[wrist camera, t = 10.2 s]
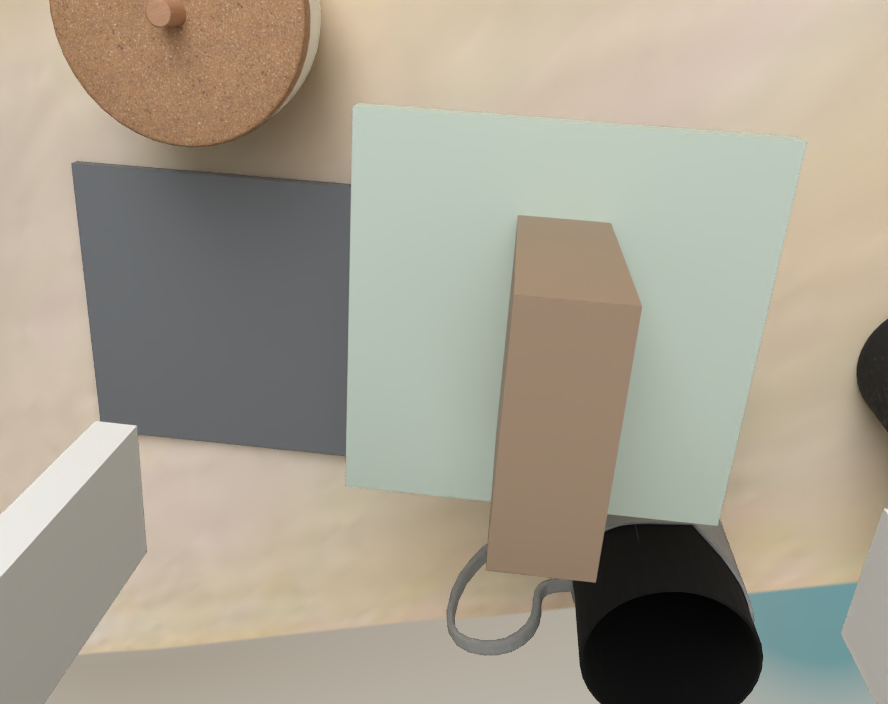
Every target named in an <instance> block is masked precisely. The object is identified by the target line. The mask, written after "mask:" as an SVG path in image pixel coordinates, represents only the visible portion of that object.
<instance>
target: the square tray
mask: <svg viewBox="0 0 888 704" xmlns="http://www.w3.org/2000/svg"><path fill="white" fill-rule="evenodd" d="M71 164H72V173H73V182H74V191H75V200H76V209H77V218H78V226H79V235H80V244H81V253H82V262H83V271H84V280H85V289H86V297H87V306H88V315H89V324H90V333H91V342H92V351H93V359H94V368H95V377H96V386H97V395H98V404H99V413H100V421H101V422H109V423H118V424H127V425H136V426H137V432H138V434H140V435H150V436H159V437H169V438H179V439H188V440H198V441H207V442H217V443H226V444H236V445H245V446H255V447H264V448H274V449H283V450H293V451H303V452H312V453H322V454H331V455H341V456H346V427H347V375H348V323H349V271H350V219H351V184H341V183H329V182H317V181H305V180H293V179H281V178H269V177H258V176H246V175H234V174H222V173H210V172H198V171H186V170H174V169H162V168H151V167H139V166H127V165H115V164H103V163H91V162H79V161H77V162H74V163H71Z"/></svg>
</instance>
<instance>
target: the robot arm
mask: <svg viewBox="0 0 888 704" xmlns="http://www.w3.org/2000/svg"><path fill="white" fill-rule="evenodd" d="M146 552H147V545H146V533H145V520H144V508H143V495H142V483H141V470H140V458H139V445H138V432H137V426H136V425H127V424H118V423H109V422H100V421H95V422H94V423H93V424H92V425H91V426H90V427H89V428H88V429H87V430H86V431H85V432H84V433H83V434H82V435H81V436H80V437H79V438H78V439H77V440H76V441H75V442H74V443H73V444H72V445H71V446H70V447H68V448H67V449H66V450H65V451H64V452H63V453H62V454H61V455H60V456H59V457H58V458H57V459H56V460H55V461H54V462H53V463H52V464H51V465H50V466H49V467H48V468H47V469H46V470H45V471H44V472H43V473H42V474H41V475H40V476H39V477H38V478H37V479H36V480H35V481H34V482H33V483H32V484H31V485H30V486H29V487H28V488H27V489H26V490H25V491H24V492H23V493H22V494H21V495H20V496H19V497H18V498H17V499H16V500H15V501H14V502H13V503H12V504H11V505H10V506H9V507H8V508H7V509H6V510H5V511H4V512H3V513H2V514H1V515H0V704H44V703H45V702H46V700H47V699H48V697H49V696H50V694H51V693H52V691H53V690H54V689H55V687H56V686H57V684H58V683H59V681H60V680H61V678H62V677H63V675H64V674H65V672H66V671H67V669H68V668H69V666H70V665H71V663H72V662H73V660H74V659H75V657H76V656H77V655H78V653H79V652H80V650H81V649H82V647H83V646H84V644H85V643H86V641H87V640H88V638H89V637H90V635H91V634H92V632H93V631H94V629H95V628H96V626H97V625H98V623H99V622H100V621H101V619H102V618H103V616H104V615H105V613H106V612H107V610H108V609H109V607H110V606H111V604H112V603H113V601H114V600H115V598H116V597H117V595H118V594H119V592H120V591H121V589H122V588H123V587H124V585H125V584H126V582H127V581H128V579H129V578H130V576H131V575H132V573H133V572H134V570H135V569H136V567H137V566H138V564H139V563H140V561H141V560H142V558H143V557H144V555H145V554H146ZM841 635H842V637H843V639H844V641H845V643H846V645H847V647H848V649H849V651H850V653H851V655H852V657H853V659H854V661H855V663H856V665H857V667H858V669H859V671H860V673H861V675H862V677H863V679H864V681H865V683H866V685H867V686H868V689H869V690H870V692H871V694H872V696H873V698H874V700H875V702H876V704H888V509H885V508H884V509H883V512H882V515H881V517H880V520H879V523H878V526H877V529H876V532H875V535H874V538H873V541H872V544H871V547H870V549H869V552H868V555H867V558H866V561H865V564H864V567H863V570H862V573H861V576H860V579H859V582H858V584H857V588H856V590H855V593H854V596H853V599H852V602H851V605H850V608H849V611H848V614H847V617H846V619H845V622H844V625H843V629H842V631H841Z"/></svg>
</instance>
